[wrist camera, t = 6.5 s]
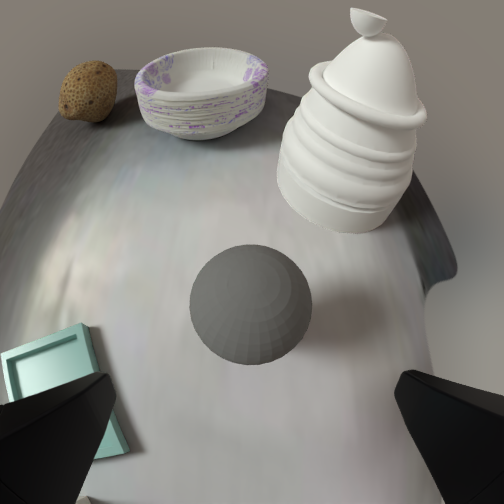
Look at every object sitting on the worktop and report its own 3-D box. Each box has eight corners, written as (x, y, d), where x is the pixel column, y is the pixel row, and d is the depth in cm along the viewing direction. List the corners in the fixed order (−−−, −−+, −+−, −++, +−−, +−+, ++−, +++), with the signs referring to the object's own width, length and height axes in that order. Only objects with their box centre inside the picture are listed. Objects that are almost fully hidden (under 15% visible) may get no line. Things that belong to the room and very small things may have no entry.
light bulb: (230, 389, 18) (222, 384, 9) (192, 318, 20) (157, 253, 12) (303, 348, 19) (354, 306, 11) (261, 283, 22) (277, 201, 13)
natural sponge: (70, 149, 30) (44, 90, 21) (70, 120, 33) (52, 70, 25) (129, 122, 32) (113, 59, 23) (122, 98, 36) (109, 45, 27)
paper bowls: (285, 139, 31) (294, 81, 24) (156, 173, 27) (139, 111, 20) (238, 85, 37) (239, 40, 30) (139, 108, 34) (129, 62, 27)
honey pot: (290, 238, 24) (348, 23, 8) (267, 143, 30) (283, -10, 14) (409, 230, 25) (504, 87, 10) (366, 145, 31) (411, 20, 16)
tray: (130, 450, 15) (124, 453, 14) (38, 464, 12) (30, 465, 11) (88, 326, 19) (81, 322, 18) (8, 356, 17) (0, 353, 16)
